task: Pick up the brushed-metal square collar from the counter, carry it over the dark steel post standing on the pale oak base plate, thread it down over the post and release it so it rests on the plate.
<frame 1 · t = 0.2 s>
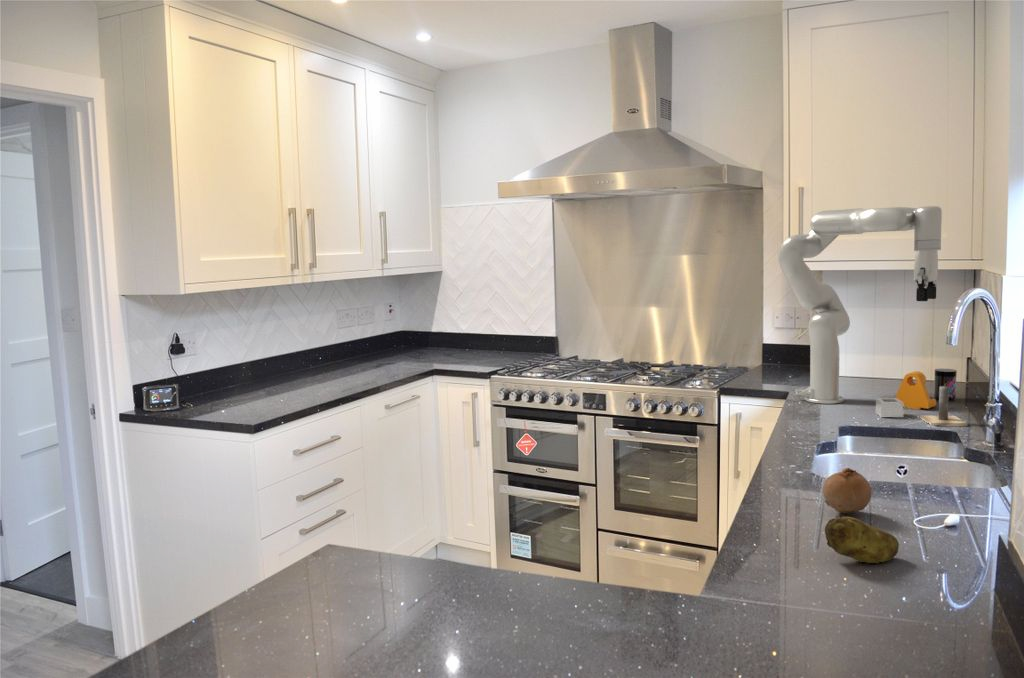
hand: (926, 299, 253), 37 cm above the worktop, tool pointing down, fingers open, 9 cm apart
collar: (889, 415, 254), on the worktop
bracket: (915, 407, 266), on the worktop
potato: (861, 561, 144), on the worktop
post stand: (943, 422, 243), on the worktop
supplement container: (944, 400, 275), on the worktop
onion: (846, 514, 168), on the worktop
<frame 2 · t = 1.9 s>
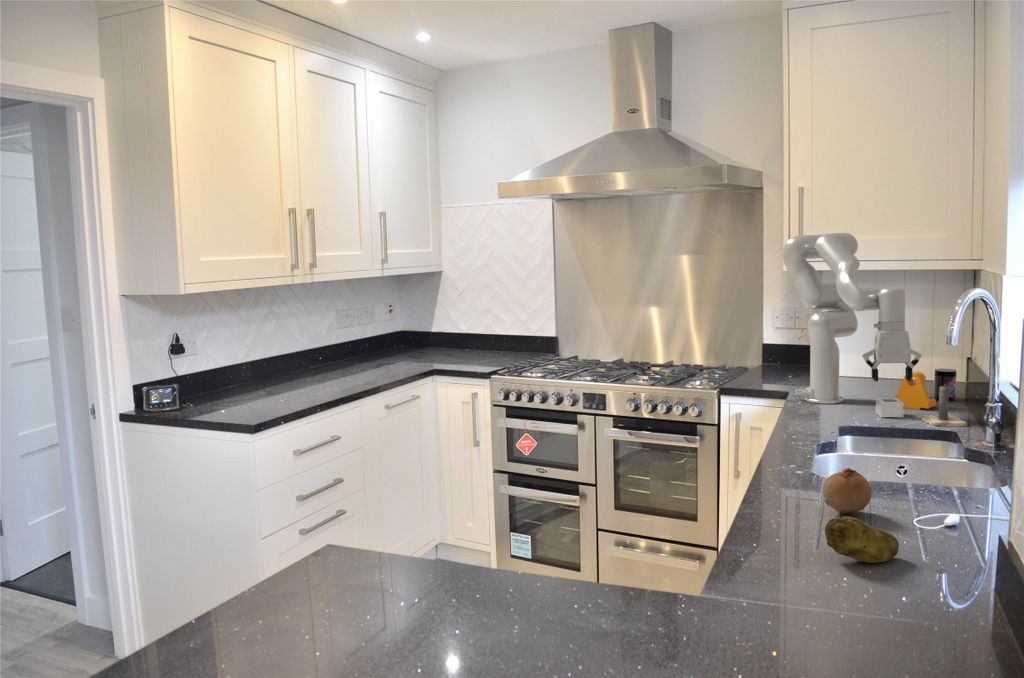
hand: (891, 380, 252), 12 cm above the worktop, tool pointing down, fingers open, 9 cm apart
nothing on the worktop moved.
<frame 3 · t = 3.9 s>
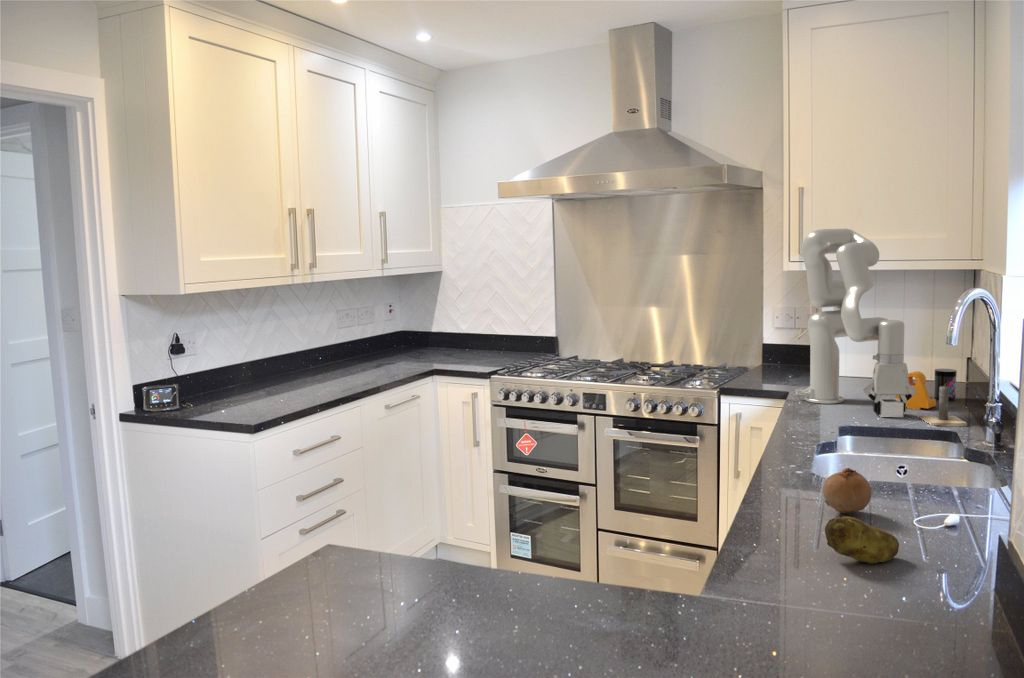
hand: (889, 413, 254), 1 cm above the worktop, tool pointing down, fingers closed on collar, 6 cm apart
collar: (889, 415, 254), on the worktop, touching gripper
everything else where it was.
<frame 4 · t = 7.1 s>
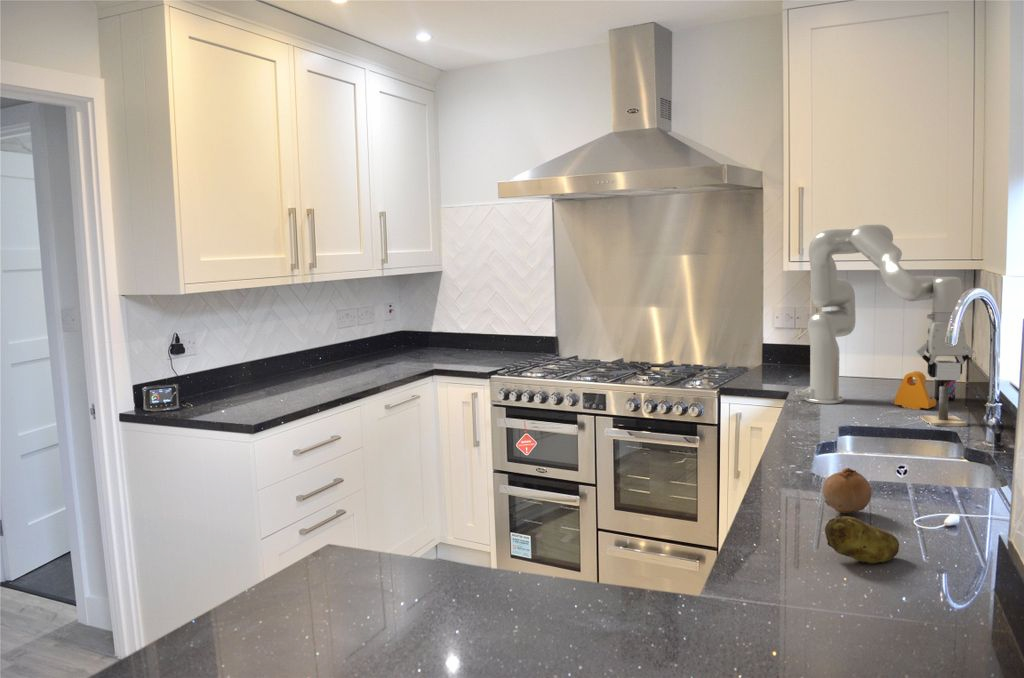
hand: (944, 376, 241), 14 cm above the worktop, tool pointing down, fingers closed on collar, 6 cm apart
collar: (944, 378, 241), point 14 cm above the worktop, touching gripper
everything else where it was.
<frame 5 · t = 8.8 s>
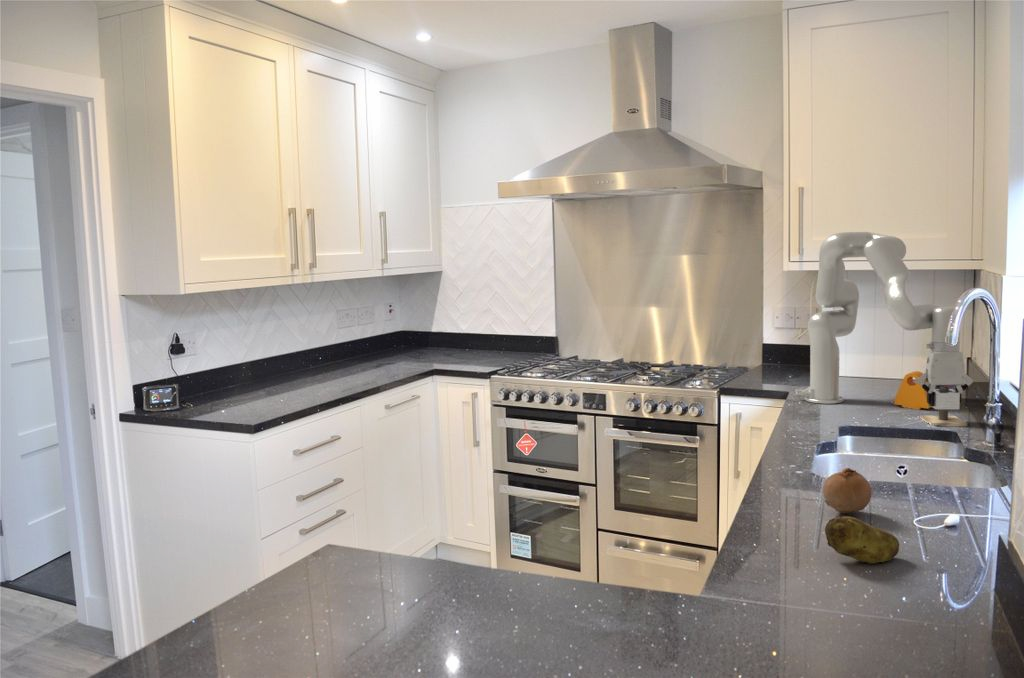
hand: (943, 405, 242), 5 cm above the worktop, tool pointing down, fingers closed on collar, 6 cm apart
collar: (943, 407, 242), point 5 cm above the worktop, touching gripper
everything else where it was.
when the fingers open (4 cm above the worktop, at t = 10.3 s): collar drops 2 cm, resting on post stand.
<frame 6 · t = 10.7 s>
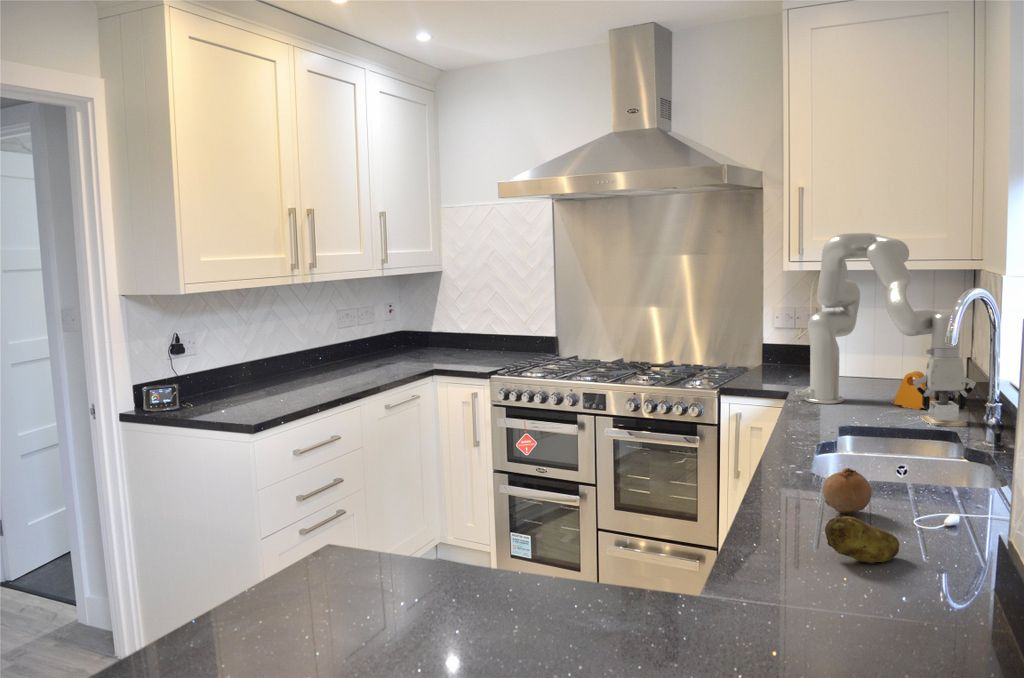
hand: (943, 408, 243), 4 cm above the worktop, tool pointing down, fingers open, 9 cm apart
collar: (942, 419, 243), point 1 cm above the worktop, touching post stand
everything else where it was.
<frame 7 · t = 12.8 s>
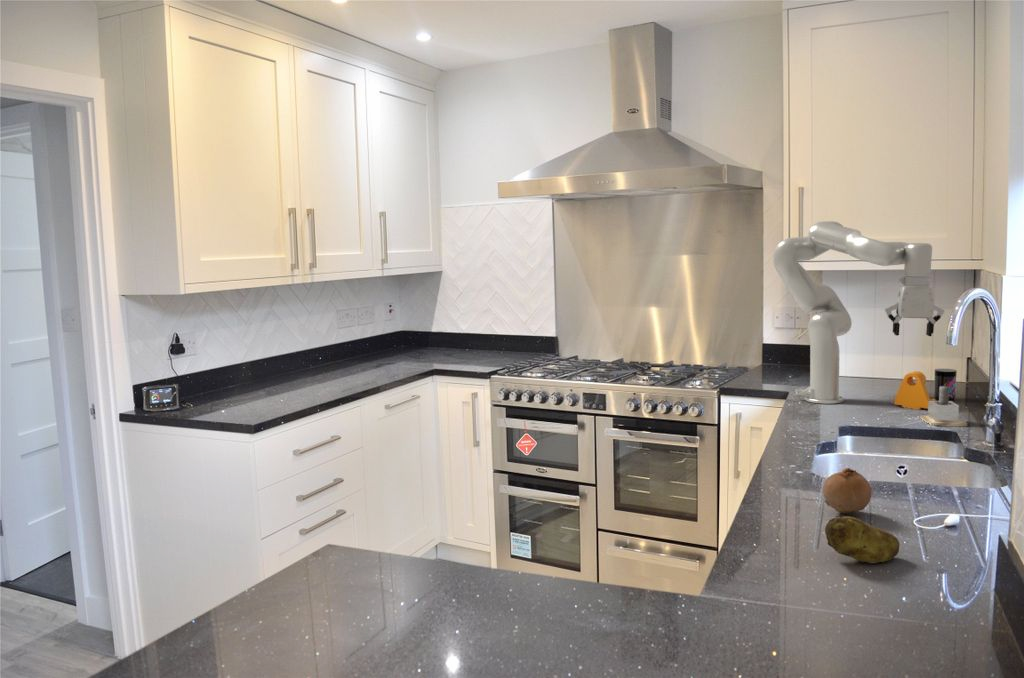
hand: (912, 335, 255), 25 cm above the worktop, tool pointing down, fingers open, 9 cm apart
nothing on the worktop moved.
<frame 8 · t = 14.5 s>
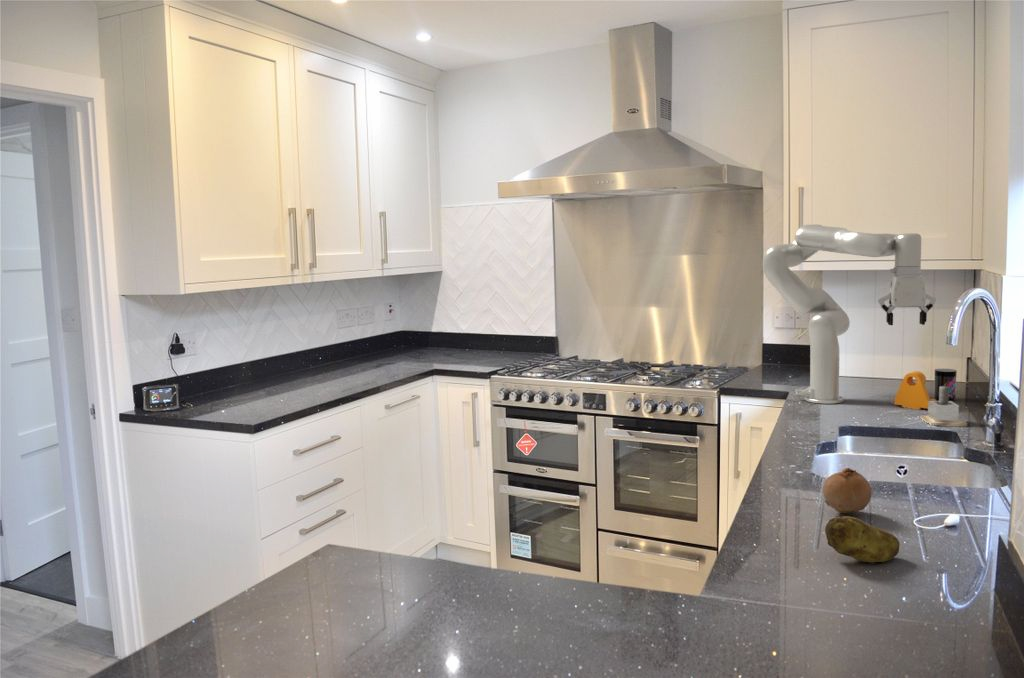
hand: (906, 324, 258), 28 cm above the worktop, tool pointing down, fingers open, 9 cm apart
nothing on the worktop moved.
at the end: collar 0.1 cm off-centre on the post stand, point 1.0 cm above the post stand's base; the gripper is holding nothing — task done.
